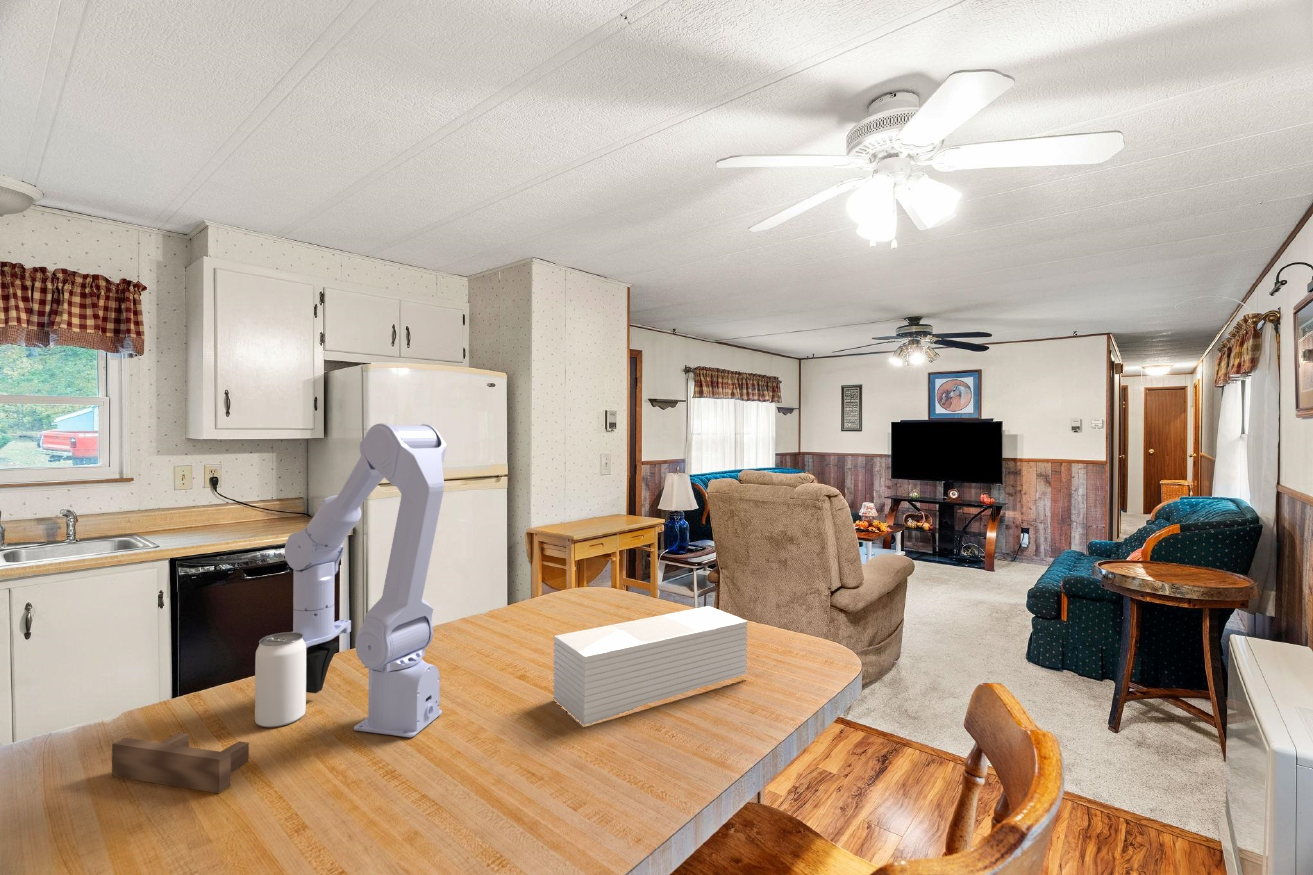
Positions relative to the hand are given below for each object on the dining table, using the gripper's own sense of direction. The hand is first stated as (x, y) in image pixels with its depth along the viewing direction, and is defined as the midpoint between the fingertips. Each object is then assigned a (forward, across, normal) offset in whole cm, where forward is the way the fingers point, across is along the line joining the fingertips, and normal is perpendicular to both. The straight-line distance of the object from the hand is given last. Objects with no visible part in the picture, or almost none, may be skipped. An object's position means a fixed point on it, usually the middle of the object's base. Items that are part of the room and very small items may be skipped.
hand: (313, 691), depth 98 cm
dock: (+1, +21, 0) cm, 21 cm away
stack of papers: (+2, -17, +52) cm, 55 cm away
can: (+2, +6, 0) cm, 7 cm away
